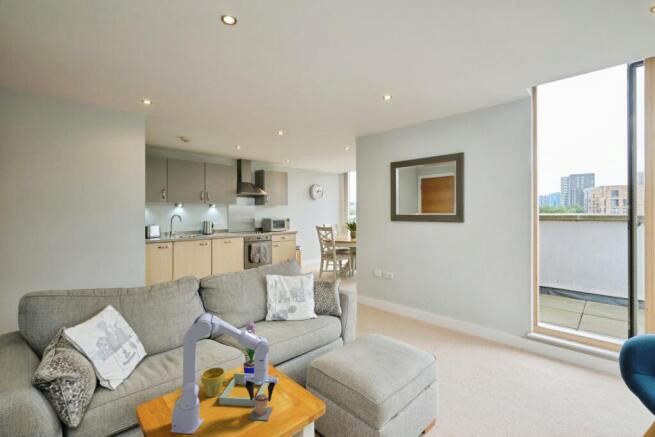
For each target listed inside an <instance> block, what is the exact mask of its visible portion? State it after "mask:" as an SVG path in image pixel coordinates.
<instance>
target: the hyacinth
mask: <svg viewBox="0 0 655 437" xmlns="http://www.w3.org/2000/svg"><path fill="white" fill-rule="evenodd" d="M244 327H245V330H247V331H248V330H251V333H253V334H255V335H257V333H256V332H257V327H256V324H255V323H254V321H252V320H248V321H247V323H246V324H245V326H244ZM244 347H245V346H244ZM242 350H243V351H245V352H246V353H247V356H248V357H249V359H248V360H245V361H244V362H243V363H242V366H243V373H247V374H254V357H255V352H254V350H251V349H249V348H247V347H245V348H242Z"/></svg>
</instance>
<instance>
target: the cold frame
mask: <svg viewBox="0 0 655 437" xmlns="http://www.w3.org/2000/svg"><path fill="white" fill-rule="evenodd" d="M250 375H254V374H247V373H244V372H234V373H233V379H232V380H231V381H230V382H229V384H228V385H227V387H226V388H225V389H224V391H222V394H221V395H220V396H219V398H218V399H219V400H218V403H219V405H227V406H228V405H229V406H243V407H255V403H254V398H255V397H254V398H253V400H250V397H240V396H239V397H238V396H229V394H230V393H231V392H232V390H233V389H234V388H235V387H236V385H246V383H244V377H245V376H250ZM268 385H269V383H262V384H260V385H259V386H260V388H259V390H258V392H257V394H256V396H257V395H259V394H264V393H265V391H266V389H267V388H268ZM254 386H257V385H256V383H254Z"/></svg>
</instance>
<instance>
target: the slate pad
mask: <svg viewBox="0 0 655 437" xmlns="http://www.w3.org/2000/svg"><path fill="white" fill-rule="evenodd" d="M273 408H274V407H273V406H267V413H266V414H265V415H263V416H257V415H255V406H253V409H252V411H251V413H250V415H249V417H248V420H249V421H261V422H262V421H263V422H265V421H266V422H268V421H269V418H270V416H271V413H272V411H273V410H274V409H273Z"/></svg>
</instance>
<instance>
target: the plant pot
mask: <svg viewBox="0 0 655 437" xmlns="http://www.w3.org/2000/svg"><path fill="white" fill-rule="evenodd" d="M200 376H201V377H200V378H201V380H200V381H201V384H202V385H203V390H204V395H205V396H206V397H208V398H215V397H217V396H219V395H220V394H221V391H222V386H223V383H224V380H225V379H226V370H225V369H224V368H223V367H216V366H215V367H210V368H208V369H207V368H206V370H204V371H203V372H202V373H201V375H200Z"/></svg>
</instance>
